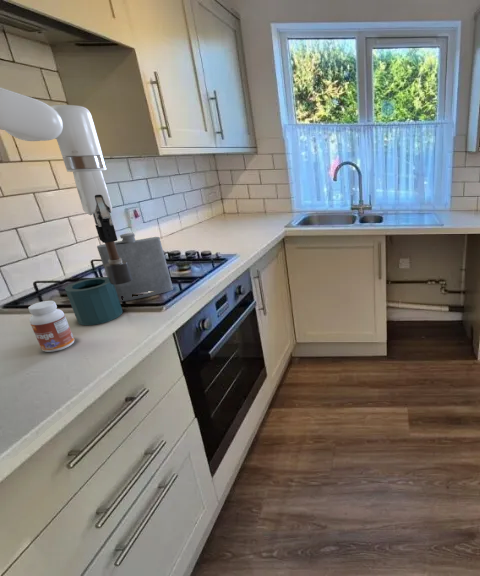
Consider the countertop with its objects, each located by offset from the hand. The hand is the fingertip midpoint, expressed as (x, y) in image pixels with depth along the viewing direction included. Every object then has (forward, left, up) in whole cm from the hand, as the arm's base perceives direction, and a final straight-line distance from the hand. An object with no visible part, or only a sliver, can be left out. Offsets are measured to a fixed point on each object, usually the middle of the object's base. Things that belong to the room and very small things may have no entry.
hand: (108, 240), depth 91 cm
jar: (-6, +9, -22) cm, 25 cm away
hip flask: (+7, +17, -23) cm, 29 cm away
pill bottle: (-16, -3, -23) cm, 28 cm away
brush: (0, 0, -11) cm, 11 cm away
